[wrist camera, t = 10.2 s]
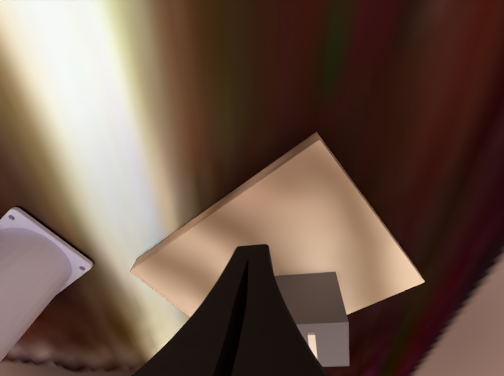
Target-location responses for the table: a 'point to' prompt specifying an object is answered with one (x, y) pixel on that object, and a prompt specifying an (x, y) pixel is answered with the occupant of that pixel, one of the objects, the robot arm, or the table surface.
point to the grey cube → (318, 314)
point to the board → (286, 234)
